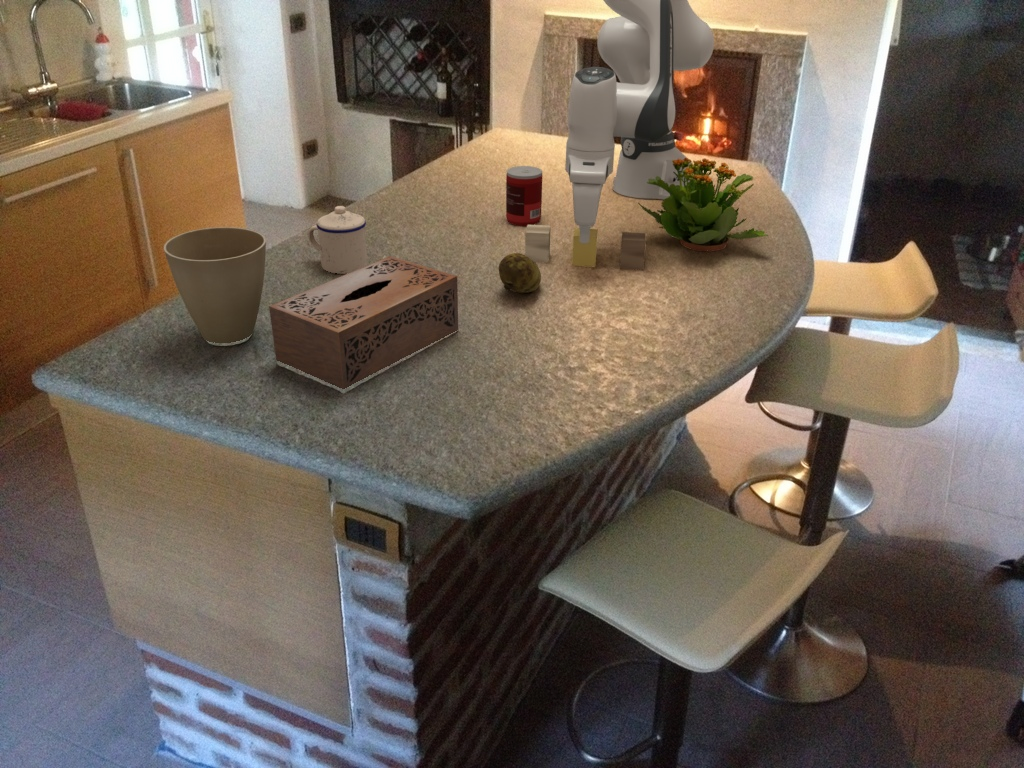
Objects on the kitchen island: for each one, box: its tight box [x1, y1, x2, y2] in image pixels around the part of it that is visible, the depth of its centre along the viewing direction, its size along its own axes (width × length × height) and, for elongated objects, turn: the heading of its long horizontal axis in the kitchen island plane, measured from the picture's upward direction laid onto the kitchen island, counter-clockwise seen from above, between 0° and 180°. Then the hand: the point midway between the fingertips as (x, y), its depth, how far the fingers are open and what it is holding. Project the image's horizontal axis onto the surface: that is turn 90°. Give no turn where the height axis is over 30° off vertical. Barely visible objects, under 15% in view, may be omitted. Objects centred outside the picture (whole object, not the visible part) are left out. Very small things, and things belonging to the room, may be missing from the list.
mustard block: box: [571, 227, 599, 268], centre depth 173 cm, size 4×4×6 cm
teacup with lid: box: [307, 205, 368, 275], centre depth 168 cm, size 12×9×12 cm
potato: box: [498, 252, 542, 294], centre depth 159 cm, size 8×13×8 cm, turn 151°
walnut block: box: [619, 231, 647, 272], centre depth 171 cm, size 4×4×6 cm
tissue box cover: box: [268, 255, 459, 389], centre depth 139 cm, size 26×14×10 cm, turn 144°
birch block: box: [524, 224, 552, 264], centre depth 174 cm, size 4×4×6 cm
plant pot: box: [163, 226, 267, 343], centre depth 140 cm, size 15×15×16 cm
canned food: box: [505, 165, 543, 227], centre depth 193 cm, size 8×8×11 cm
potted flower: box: [637, 156, 769, 253], centre depth 179 cm, size 25×24×18 cm
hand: (585, 233), depth 171 cm, fingers open, 8 cm apart
